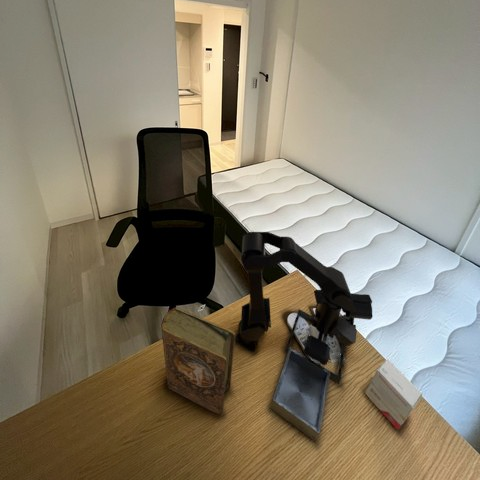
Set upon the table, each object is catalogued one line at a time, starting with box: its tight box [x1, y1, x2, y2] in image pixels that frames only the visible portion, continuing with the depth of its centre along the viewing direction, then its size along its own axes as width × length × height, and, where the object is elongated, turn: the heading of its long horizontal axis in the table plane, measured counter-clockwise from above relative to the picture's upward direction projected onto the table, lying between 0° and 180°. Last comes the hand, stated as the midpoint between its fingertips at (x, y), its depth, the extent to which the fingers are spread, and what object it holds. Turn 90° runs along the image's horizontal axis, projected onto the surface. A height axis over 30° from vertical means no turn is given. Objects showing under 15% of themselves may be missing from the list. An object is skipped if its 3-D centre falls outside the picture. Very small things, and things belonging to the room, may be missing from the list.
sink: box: [270, 346, 331, 442], centre depth 63 cm, size 11×13×4 cm
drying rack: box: [284, 308, 346, 385], centre depth 74 cm, size 16×14×4 cm
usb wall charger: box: [308, 324, 324, 340], centre depth 74 cm, size 4×7×4 cm, turn 174°
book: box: [160, 306, 236, 416], centre depth 58 cm, size 16×6×25 cm, turn 71°
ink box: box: [365, 358, 423, 431], centre depth 61 cm, size 9×5×12 cm, turn 33°
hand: (316, 342), depth 75 cm, fingers closed on usb wall charger, 7 cm apart
